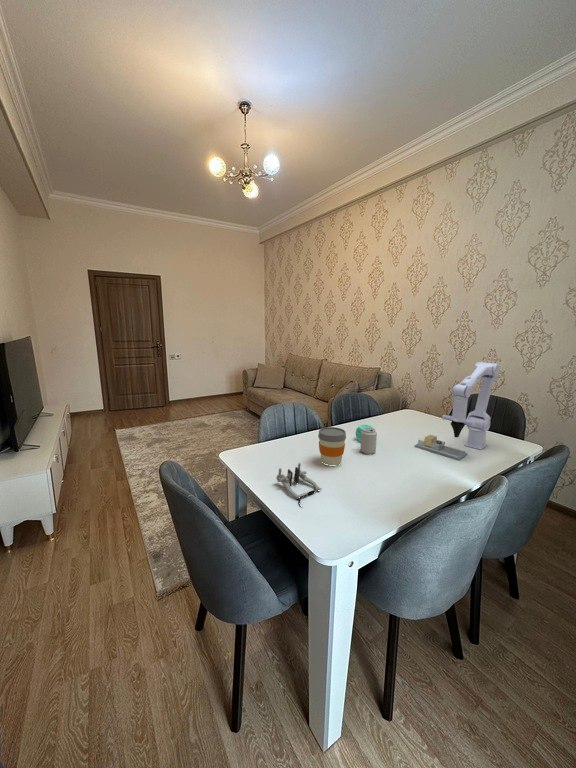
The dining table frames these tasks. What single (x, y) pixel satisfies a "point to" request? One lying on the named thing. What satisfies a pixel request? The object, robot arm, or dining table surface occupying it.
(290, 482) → the bike brake
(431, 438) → the wooden block
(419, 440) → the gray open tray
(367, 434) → the can
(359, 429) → the teal ball
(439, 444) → the free jaw
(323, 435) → the reusable coffee cup
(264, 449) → the dining table surface
